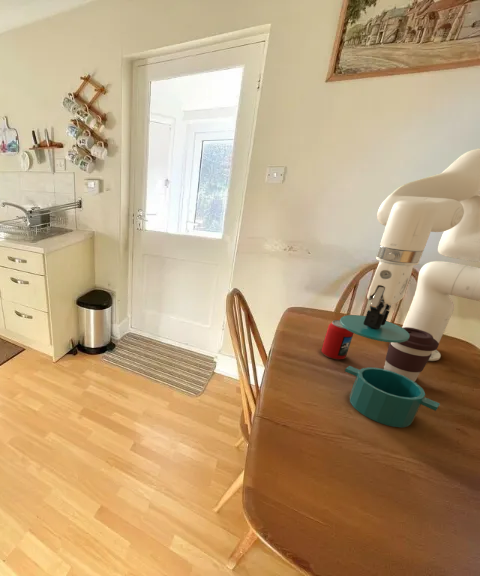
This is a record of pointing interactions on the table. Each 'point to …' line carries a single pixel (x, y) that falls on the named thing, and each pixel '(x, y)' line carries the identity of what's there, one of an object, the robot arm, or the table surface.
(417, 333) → the coffee cup
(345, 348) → the beverage can
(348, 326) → the lid
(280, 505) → the table surface
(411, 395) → the pot
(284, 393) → the table surface
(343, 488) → the table surface
